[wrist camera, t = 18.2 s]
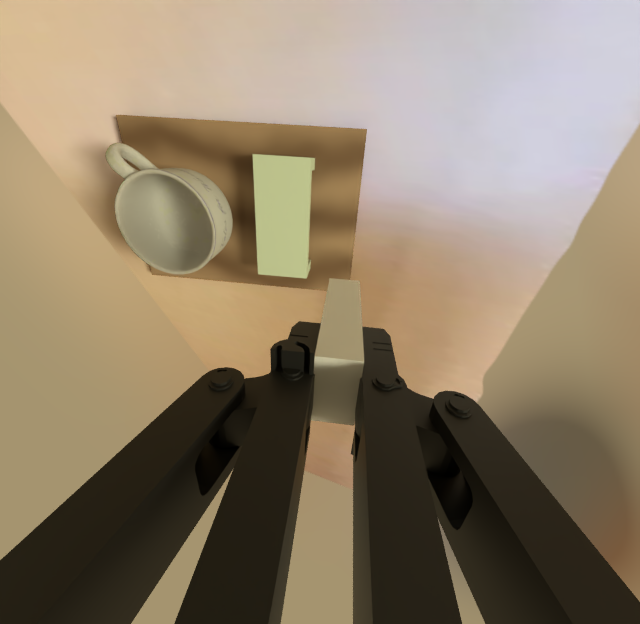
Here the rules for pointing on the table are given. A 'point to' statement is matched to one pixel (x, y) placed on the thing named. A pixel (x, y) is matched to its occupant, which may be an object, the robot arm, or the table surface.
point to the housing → (282, 214)
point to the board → (238, 187)
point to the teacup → (169, 213)
